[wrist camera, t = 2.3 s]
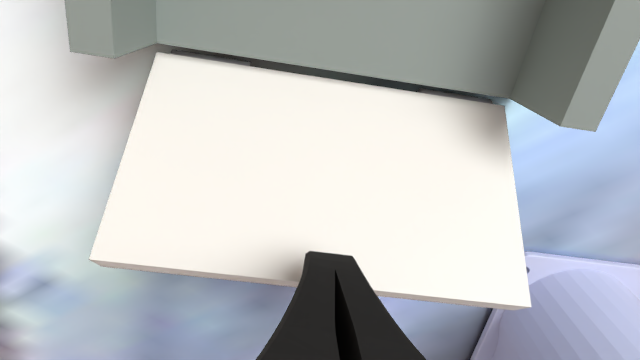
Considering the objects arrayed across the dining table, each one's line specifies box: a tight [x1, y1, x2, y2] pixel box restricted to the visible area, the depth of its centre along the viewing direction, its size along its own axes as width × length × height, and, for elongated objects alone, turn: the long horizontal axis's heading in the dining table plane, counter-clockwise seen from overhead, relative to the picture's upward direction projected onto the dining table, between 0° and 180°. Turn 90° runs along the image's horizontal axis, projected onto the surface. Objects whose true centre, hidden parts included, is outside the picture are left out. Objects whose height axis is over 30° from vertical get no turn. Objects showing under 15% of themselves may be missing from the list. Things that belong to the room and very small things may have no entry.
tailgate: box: [89, 50, 531, 310], centre depth 15 cm, size 8×14×1 cm
